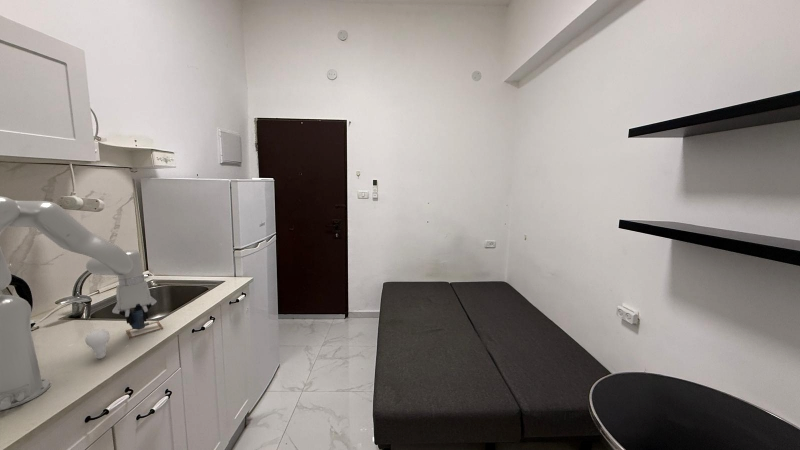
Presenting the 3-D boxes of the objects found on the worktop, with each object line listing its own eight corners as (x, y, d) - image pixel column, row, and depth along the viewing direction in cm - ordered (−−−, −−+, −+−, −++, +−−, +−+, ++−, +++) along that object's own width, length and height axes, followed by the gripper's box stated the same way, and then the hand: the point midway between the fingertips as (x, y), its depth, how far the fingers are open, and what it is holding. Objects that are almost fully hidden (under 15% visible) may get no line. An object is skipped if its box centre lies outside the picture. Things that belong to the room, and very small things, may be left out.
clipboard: (163, 328, 127) (162, 325, 127) (129, 339, 119) (128, 336, 118) (158, 322, 133) (158, 319, 132) (126, 331, 124) (125, 328, 124)
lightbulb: (101, 363, 103) (96, 334, 101) (83, 363, 103) (78, 334, 101) (117, 353, 109) (113, 325, 107) (101, 353, 109) (96, 325, 107)
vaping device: (140, 330, 121) (136, 302, 119) (130, 328, 122) (126, 301, 120) (146, 327, 123) (142, 300, 121) (136, 325, 124) (132, 299, 123)
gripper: (155, 273, 128) (161, 312, 131) (101, 283, 116) (109, 326, 118) (159, 277, 123) (164, 318, 126) (103, 288, 111) (110, 333, 114)
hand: (137, 321), depth 122 cm, fingers closed on vaping device, 3 cm apart
